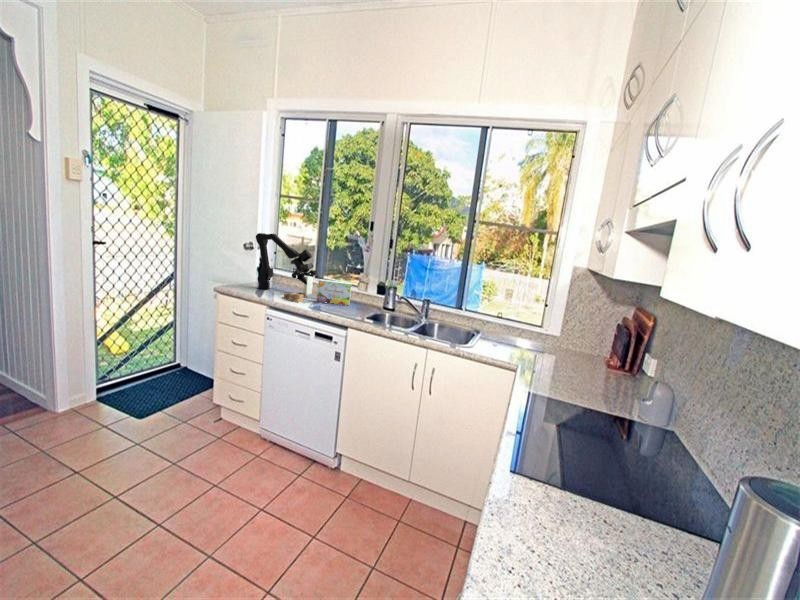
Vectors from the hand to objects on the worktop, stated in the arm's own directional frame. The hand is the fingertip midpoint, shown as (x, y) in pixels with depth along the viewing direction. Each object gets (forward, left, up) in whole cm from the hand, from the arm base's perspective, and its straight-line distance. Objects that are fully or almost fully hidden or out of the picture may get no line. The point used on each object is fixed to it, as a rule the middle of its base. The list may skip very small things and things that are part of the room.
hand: (309, 284), depth 260 cm
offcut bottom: (-3, -17, -10) cm, 20 cm away
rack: (-7, -9, -9) cm, 14 cm away
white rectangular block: (-1, +1, -7) cm, 7 cm away
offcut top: (-3, -17, -7) cm, 19 cm away
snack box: (+19, -9, -10) cm, 23 cm away
